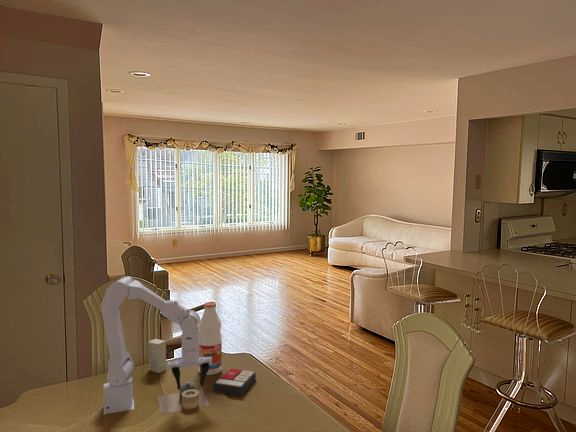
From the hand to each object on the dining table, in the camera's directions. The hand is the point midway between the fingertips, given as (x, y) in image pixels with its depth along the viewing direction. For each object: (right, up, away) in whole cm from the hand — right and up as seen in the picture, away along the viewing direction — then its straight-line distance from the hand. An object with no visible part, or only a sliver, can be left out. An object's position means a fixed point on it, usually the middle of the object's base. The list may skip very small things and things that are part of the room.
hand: (190, 386), depth 147 cm
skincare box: (-20, -5, +30) cm, 36 cm away
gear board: (-3, -7, +3) cm, 8 cm away
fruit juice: (+1, -5, +29) cm, 30 cm away
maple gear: (0, -6, 0) cm, 6 cm away
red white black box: (+13, -7, +16) cm, 22 cm away
